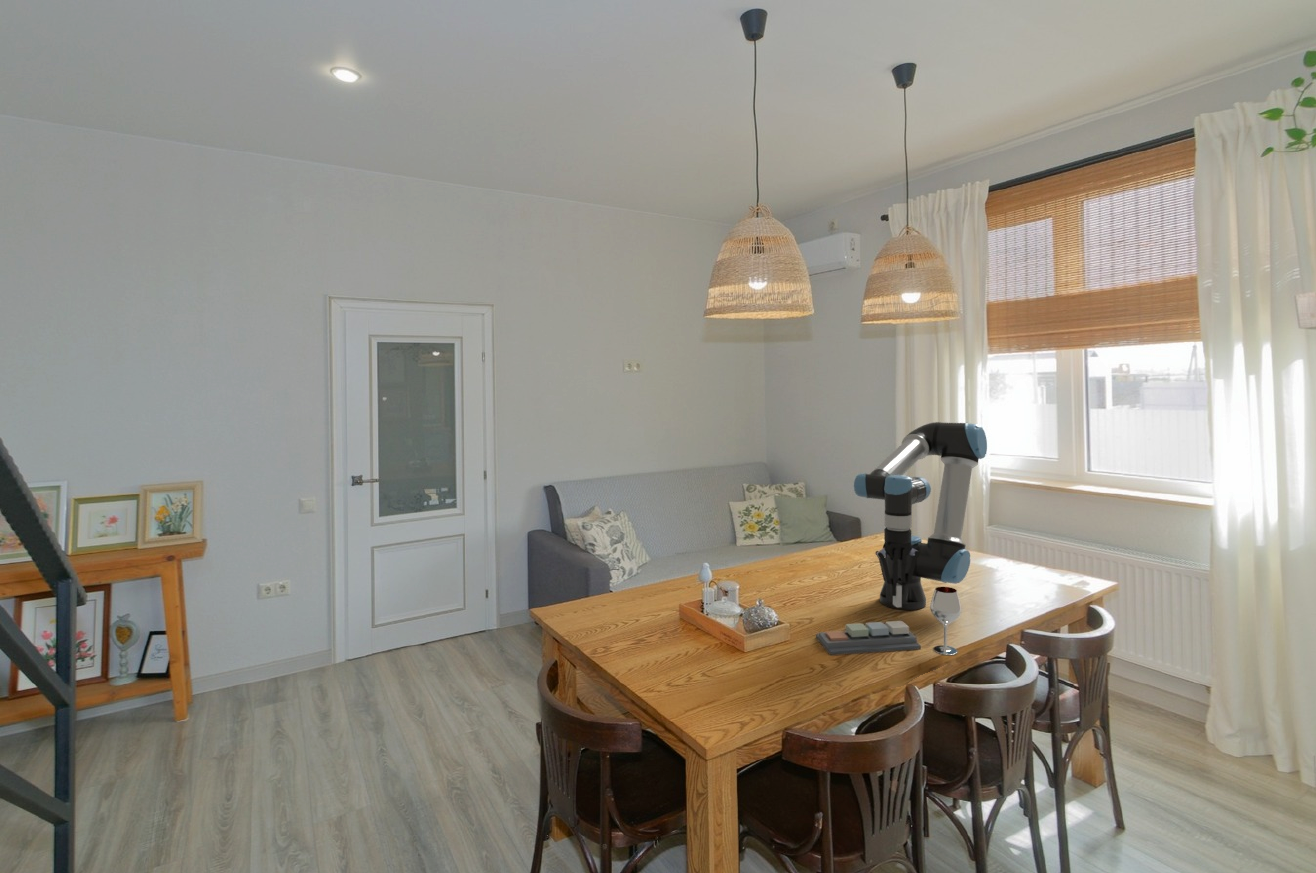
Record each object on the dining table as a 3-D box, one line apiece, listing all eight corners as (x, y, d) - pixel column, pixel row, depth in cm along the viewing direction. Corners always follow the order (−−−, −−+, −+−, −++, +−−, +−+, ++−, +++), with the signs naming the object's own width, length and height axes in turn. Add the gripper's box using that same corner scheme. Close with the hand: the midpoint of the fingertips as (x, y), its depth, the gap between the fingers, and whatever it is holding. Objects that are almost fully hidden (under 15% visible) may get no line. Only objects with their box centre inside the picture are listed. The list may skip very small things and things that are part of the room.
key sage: (861, 629, 202) (861, 623, 202) (868, 635, 197) (868, 629, 197) (845, 630, 202) (845, 624, 202) (851, 637, 197) (851, 630, 197)
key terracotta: (841, 637, 202) (841, 630, 202) (847, 643, 197) (847, 637, 197) (825, 638, 202) (825, 631, 201) (831, 644, 197) (831, 638, 197)
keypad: (900, 631, 208) (901, 624, 208) (920, 648, 195) (920, 640, 195) (815, 637, 206) (815, 629, 205) (830, 654, 193) (830, 646, 192)
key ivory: (901, 627, 203) (901, 620, 203) (909, 633, 198) (909, 626, 198) (885, 628, 203) (885, 621, 203) (892, 634, 198) (892, 627, 198)
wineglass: (942, 658, 189) (943, 595, 187) (923, 646, 196) (924, 587, 195) (967, 654, 191) (968, 592, 189) (947, 643, 199) (948, 583, 197)
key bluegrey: (881, 628, 203) (881, 621, 203) (888, 634, 198) (888, 628, 198) (865, 629, 203) (865, 622, 202) (872, 635, 198) (872, 629, 197)
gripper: (913, 524, 202) (912, 600, 204) (871, 526, 201) (870, 602, 203) (925, 529, 195) (924, 608, 197) (881, 531, 193) (881, 611, 196)
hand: (897, 605), depth 200 cm, fingers closed
